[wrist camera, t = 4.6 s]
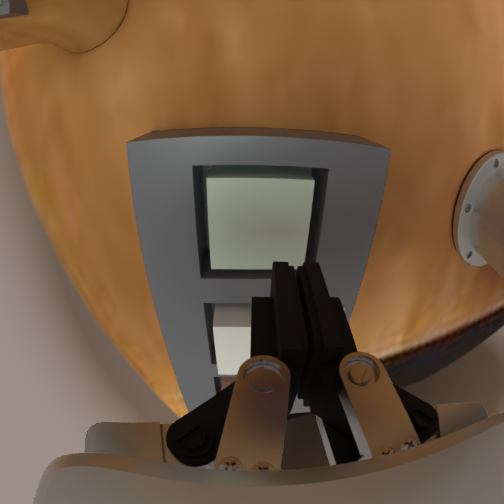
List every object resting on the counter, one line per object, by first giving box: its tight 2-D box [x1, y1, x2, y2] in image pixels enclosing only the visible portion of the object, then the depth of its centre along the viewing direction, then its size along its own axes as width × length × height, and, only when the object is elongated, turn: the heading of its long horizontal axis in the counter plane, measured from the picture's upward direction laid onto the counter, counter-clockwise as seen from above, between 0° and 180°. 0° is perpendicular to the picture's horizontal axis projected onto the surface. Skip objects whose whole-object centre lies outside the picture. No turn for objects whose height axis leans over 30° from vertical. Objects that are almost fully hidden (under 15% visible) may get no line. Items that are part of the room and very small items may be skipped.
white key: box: [213, 303, 251, 375], centre depth 20 cm, size 6×6×3 cm
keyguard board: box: [126, 127, 390, 413], centre depth 22 cm, size 14×28×5 cm, turn 179°
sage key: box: [206, 165, 315, 269], centre depth 16 cm, size 6×6×3 cm
